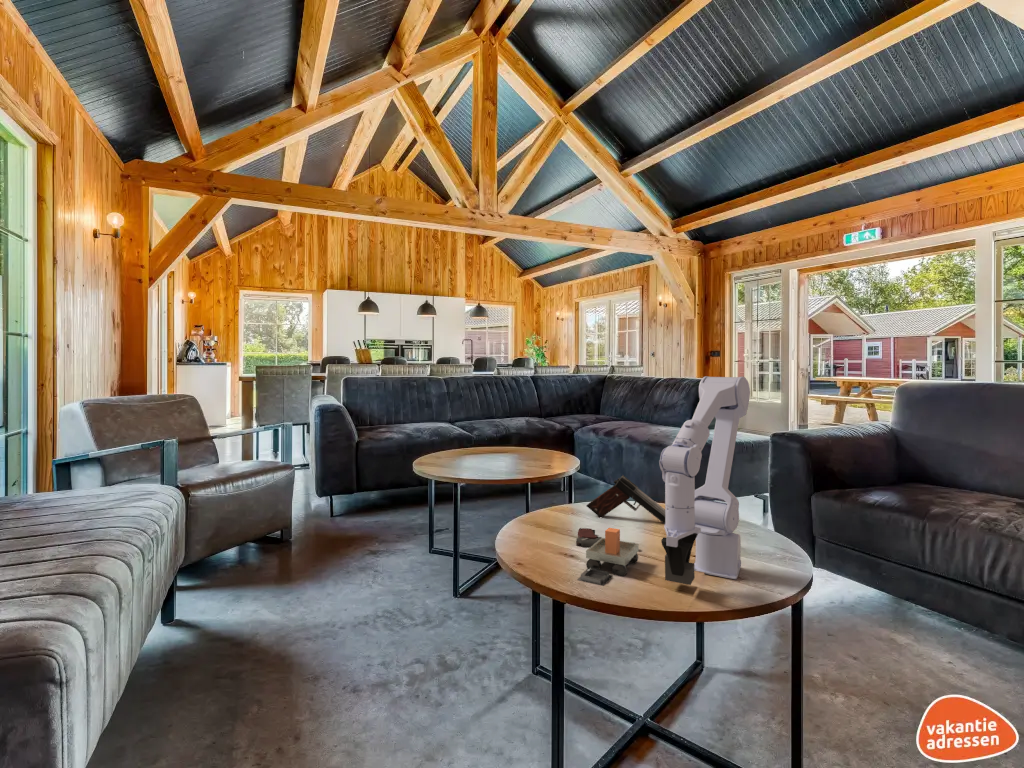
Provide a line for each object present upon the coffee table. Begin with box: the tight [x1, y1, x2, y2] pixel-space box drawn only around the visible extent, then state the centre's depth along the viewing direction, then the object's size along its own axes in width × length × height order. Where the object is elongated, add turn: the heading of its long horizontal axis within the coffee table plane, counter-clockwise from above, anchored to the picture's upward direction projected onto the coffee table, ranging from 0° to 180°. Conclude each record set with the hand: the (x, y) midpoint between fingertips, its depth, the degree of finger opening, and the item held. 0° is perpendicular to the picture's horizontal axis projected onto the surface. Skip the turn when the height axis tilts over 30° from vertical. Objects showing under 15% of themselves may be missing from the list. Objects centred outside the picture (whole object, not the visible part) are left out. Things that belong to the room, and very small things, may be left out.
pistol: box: [575, 527, 632, 548], centre depth 135 cm, size 2×15×12 cm
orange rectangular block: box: [604, 527, 621, 554], centre depth 117 cm, size 3×3×5 cm
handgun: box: [586, 474, 665, 525], centre depth 154 cm, size 3×23×15 cm
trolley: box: [585, 537, 640, 577], centre depth 118 cm, size 9×10×5 cm
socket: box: [576, 568, 614, 587], centre depth 111 cm, size 6×6×1 cm
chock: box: [664, 553, 695, 586], centre depth 105 cm, size 5×4×5 cm
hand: (679, 570), depth 105 cm, fingers closed on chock, 4 cm apart
